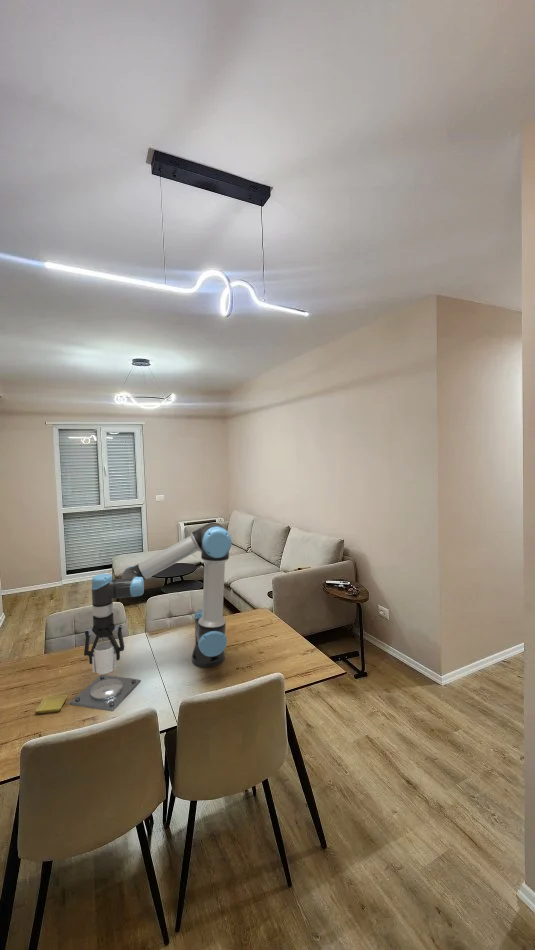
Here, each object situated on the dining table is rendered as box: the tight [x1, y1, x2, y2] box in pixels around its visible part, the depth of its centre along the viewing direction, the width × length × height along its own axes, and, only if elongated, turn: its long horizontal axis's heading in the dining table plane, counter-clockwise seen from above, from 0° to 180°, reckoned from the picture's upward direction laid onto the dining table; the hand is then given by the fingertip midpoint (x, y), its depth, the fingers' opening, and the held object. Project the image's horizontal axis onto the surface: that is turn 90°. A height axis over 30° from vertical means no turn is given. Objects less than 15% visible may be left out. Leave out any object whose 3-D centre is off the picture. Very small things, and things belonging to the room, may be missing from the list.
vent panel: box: [69, 674, 142, 712], centre depth 158 cm, size 19×19×2 cm
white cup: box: [93, 640, 115, 675], centre depth 157 cm, size 8×8×10 cm
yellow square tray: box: [35, 694, 68, 714], centre depth 150 cm, size 9×9×2 cm
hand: (105, 669), depth 157 cm, fingers closed on white cup, 7 cm apart
